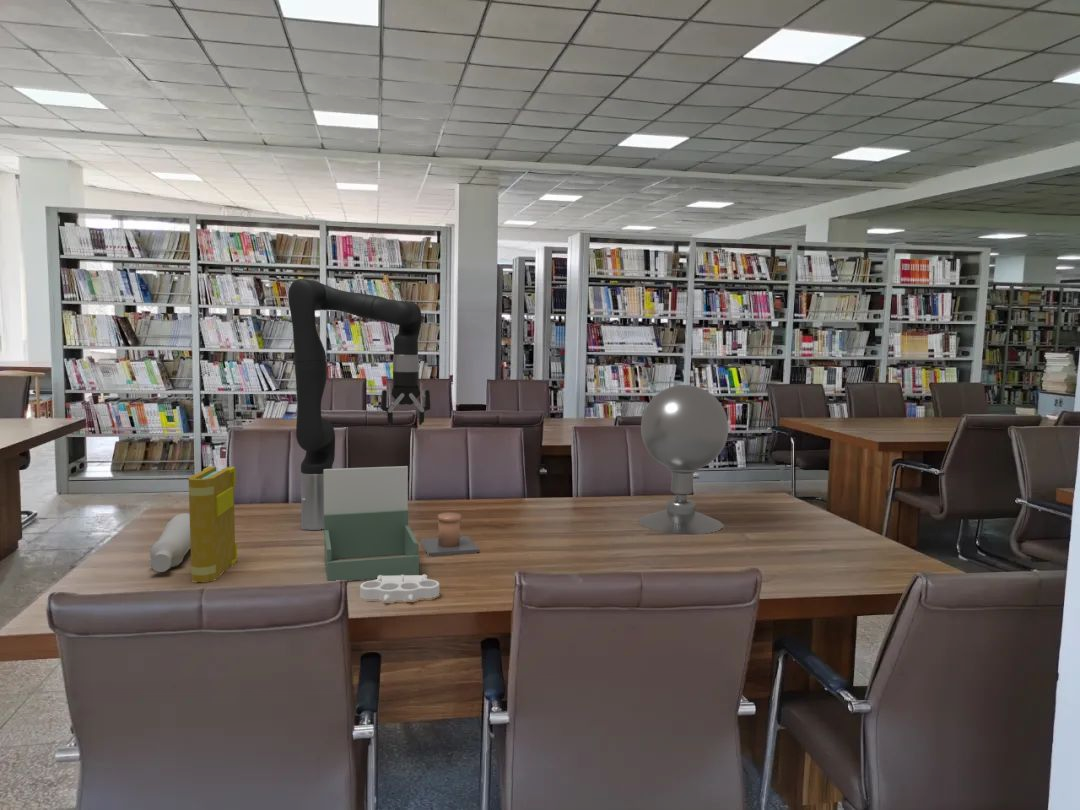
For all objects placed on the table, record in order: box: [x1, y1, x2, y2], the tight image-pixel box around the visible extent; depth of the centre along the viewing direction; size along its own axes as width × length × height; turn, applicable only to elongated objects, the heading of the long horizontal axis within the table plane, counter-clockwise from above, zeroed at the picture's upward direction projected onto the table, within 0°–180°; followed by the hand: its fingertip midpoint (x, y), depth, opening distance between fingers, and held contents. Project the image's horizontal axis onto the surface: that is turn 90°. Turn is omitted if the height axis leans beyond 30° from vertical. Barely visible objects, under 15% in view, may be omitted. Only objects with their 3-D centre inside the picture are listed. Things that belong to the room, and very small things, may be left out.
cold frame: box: [323, 465, 420, 582], centre depth 192 cm, size 22×21×24 cm
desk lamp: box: [637, 384, 729, 535], centre depth 242 cm, size 28×28×45 cm
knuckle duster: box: [359, 573, 441, 601], centre depth 174 cm, size 3×18×15 cm
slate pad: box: [420, 535, 480, 557], centre depth 211 cm, size 14×14×1 cm
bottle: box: [149, 513, 191, 573], centre depth 196 cm, size 9×9×30 cm
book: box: [188, 466, 238, 583], centre depth 186 cm, size 17×7×25 cm, turn 5°
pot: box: [437, 512, 462, 547], centre depth 211 cm, size 7×7×8 cm
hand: (405, 424), depth 221 cm, fingers open, 8 cm apart
